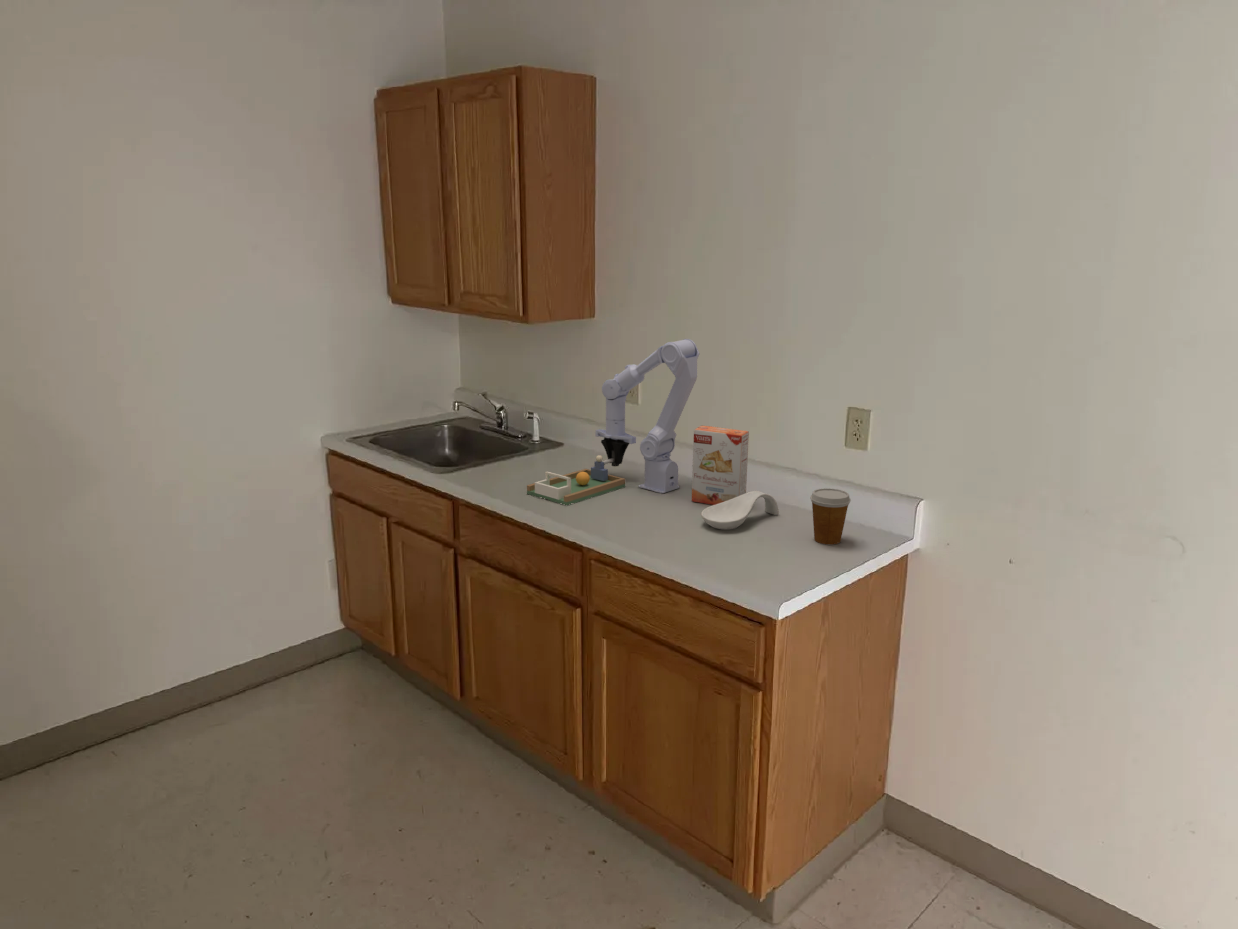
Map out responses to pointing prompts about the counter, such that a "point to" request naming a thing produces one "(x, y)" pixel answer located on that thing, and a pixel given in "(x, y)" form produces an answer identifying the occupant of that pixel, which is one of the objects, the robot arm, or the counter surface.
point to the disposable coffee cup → (829, 514)
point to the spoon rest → (736, 510)
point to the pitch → (572, 487)
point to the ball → (582, 478)
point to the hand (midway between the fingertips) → (615, 463)
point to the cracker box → (719, 464)
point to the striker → (602, 467)
